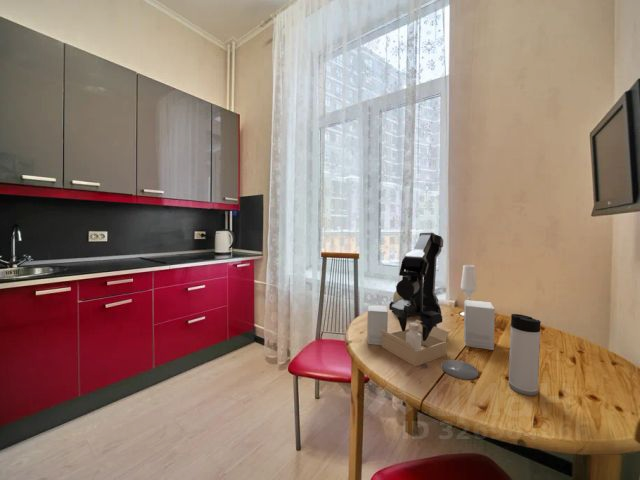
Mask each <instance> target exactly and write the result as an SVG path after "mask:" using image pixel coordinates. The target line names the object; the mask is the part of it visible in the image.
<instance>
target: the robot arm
mask: <svg viewBox="0 0 640 480" xmlns="http://www.w3.org/2000/svg"><path fill="white" fill-rule="evenodd" d="M443 247H444V239H443V237H442V236H441V235H438V234H435V233H434V232H432V231H427V232H426V231H422V232H420V233H419V238H418V240H417V241H416V244H415V246H414V248H413V250H410V251H408V252H407V253H406V254H405V256H404V257H402V260H401V265H400V270H399V272H398V273H399V274H398V276H401V277H402V279H401V280H399V281H398V282H397V284H396V285H395V286H396V287H395V291H397V293H398V295H399V296H401V297H402V300H398V301H391V302H390V303H389V304H388V305H389V306H388V309H389V311H391V313H392V314H394V315H395V316H396V318H397V320H398V323H399V325H400V330H402V331H405V329H407V325H408V324H407V323H408V317H409V316H412V315H411V314H414V315H415V316H418V317H420V320H419V321H422V322H420V324H421V325H422V337H423V341H426V339H427V337H428V336H429V334H430V332H431V330H432V329H433V327H434V326H435V327H437V325H438V324H441V323H443V315H442V314H443V313H442V308H441V306H440V303H439V299H438V296H437V294H436V292H435V290H436V276H437V274H436V273H437V260H438V259H437V258H438V257H439V255H440V254H441V252H442V248H443ZM437 328H438V327H437Z"/></svg>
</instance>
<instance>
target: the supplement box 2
mask: <svg viewBox="0 0 640 480" xmlns="http://www.w3.org/2000/svg"><path fill="white" fill-rule="evenodd" d="M463 304H464V306H463V307H464V309H463V310H464V311H463V312H464V316H463V339H464V344H465V347H468V348H469V347H470V348H476V349H477V348H478V349H483V350H490V351H494V350H495V319H496V318H495V313H496V309H495V307H494V306H493V304H492V302H489V301H480V300H472V299H471V300H470V299H469V300H467V299H464V303H463Z"/></svg>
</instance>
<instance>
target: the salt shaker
mask: <svg viewBox="0 0 640 480" xmlns="http://www.w3.org/2000/svg"><path fill="white" fill-rule="evenodd" d="M408 328H409V332H407V333H406V342H408V343H410V344H411V346H412V347H413V349H414V351H418V350H421V349H422V344H421V334H419V333H418V324H417V323H415V322H409V323H408Z"/></svg>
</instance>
